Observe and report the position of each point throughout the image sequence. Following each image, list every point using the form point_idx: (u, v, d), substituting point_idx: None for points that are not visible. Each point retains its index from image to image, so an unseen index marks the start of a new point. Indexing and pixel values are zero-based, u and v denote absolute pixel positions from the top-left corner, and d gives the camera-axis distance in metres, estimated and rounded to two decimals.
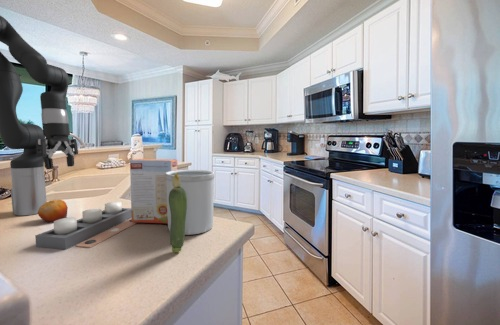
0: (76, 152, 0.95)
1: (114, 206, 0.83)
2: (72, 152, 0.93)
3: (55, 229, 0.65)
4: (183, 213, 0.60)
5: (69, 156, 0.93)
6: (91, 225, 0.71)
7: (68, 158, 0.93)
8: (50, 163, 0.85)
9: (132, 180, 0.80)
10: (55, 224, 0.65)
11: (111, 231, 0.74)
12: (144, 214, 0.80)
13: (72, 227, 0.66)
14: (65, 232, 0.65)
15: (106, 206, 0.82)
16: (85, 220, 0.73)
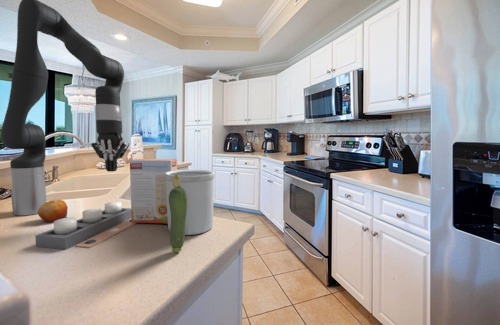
0: None
1: (114, 206, 0.83)
2: None
3: (55, 229, 0.65)
4: (183, 213, 0.60)
5: None
6: (91, 225, 0.71)
7: (109, 162, 0.83)
8: None
9: (132, 180, 0.80)
10: (55, 224, 0.65)
11: (111, 231, 0.74)
12: (144, 214, 0.80)
13: (72, 227, 0.66)
14: (65, 232, 0.65)
15: (106, 206, 0.82)
16: (85, 220, 0.73)
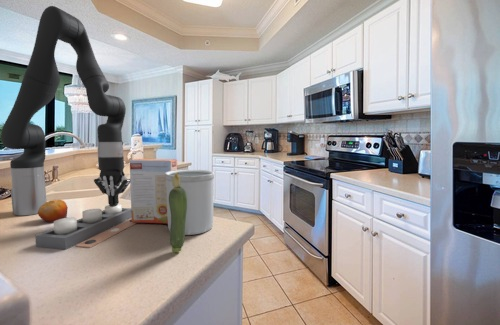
0: None
1: (114, 208, 0.83)
2: None
3: (55, 229, 0.65)
4: (183, 213, 0.60)
5: None
6: (91, 225, 0.71)
7: None
8: None
9: (132, 180, 0.80)
10: (55, 224, 0.65)
11: (111, 231, 0.74)
12: (144, 214, 0.80)
13: (72, 227, 0.66)
14: (65, 232, 0.65)
15: (106, 208, 0.82)
16: (85, 220, 0.73)
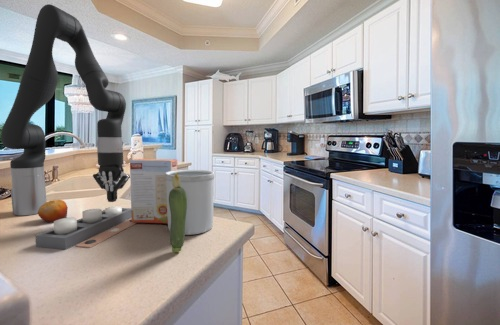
0: None
1: (114, 211, 0.83)
2: None
3: (55, 229, 0.65)
4: (183, 213, 0.60)
5: None
6: (91, 225, 0.71)
7: None
8: (115, 195, 0.85)
9: (132, 180, 0.80)
10: (55, 224, 0.65)
11: (111, 231, 0.74)
12: (144, 214, 0.80)
13: (72, 227, 0.66)
14: (65, 232, 0.65)
15: (106, 211, 0.82)
16: (85, 220, 0.73)
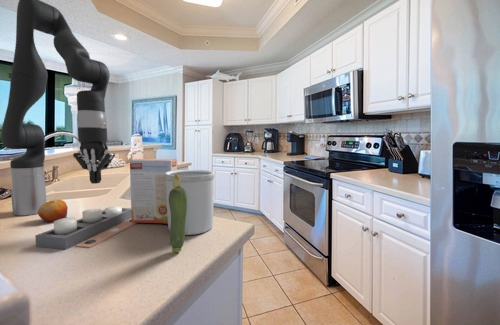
0: None
1: (114, 211, 0.83)
2: None
3: (55, 229, 0.65)
4: (183, 213, 0.60)
5: None
6: (91, 225, 0.71)
7: None
8: None
9: (132, 180, 0.80)
10: (55, 224, 0.65)
11: (111, 231, 0.74)
12: (144, 214, 0.80)
13: (72, 227, 0.66)
14: (65, 232, 0.65)
15: (106, 211, 0.82)
16: (85, 220, 0.73)
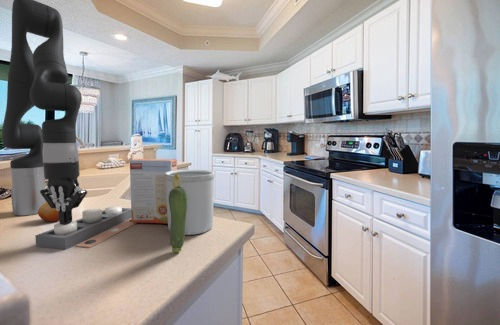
0: None
1: (114, 211, 0.83)
2: (66, 203, 0.68)
3: (55, 232, 0.65)
4: (183, 213, 0.60)
5: None
6: (91, 225, 0.71)
7: None
8: None
9: (132, 180, 0.80)
10: (55, 227, 0.65)
11: (111, 231, 0.74)
12: (144, 214, 0.80)
13: (72, 230, 0.66)
14: (65, 235, 0.65)
15: (106, 211, 0.82)
16: (85, 220, 0.73)
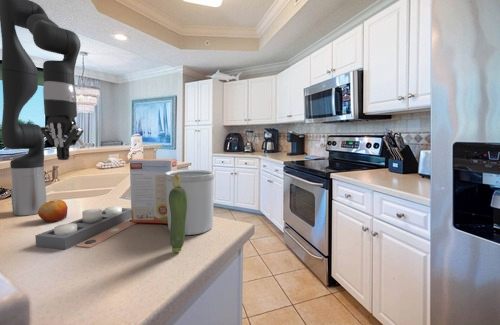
0: None
1: (114, 211, 0.83)
2: None
3: None
4: (183, 213, 0.60)
5: None
6: (91, 225, 0.71)
7: None
8: None
9: (132, 180, 0.80)
10: (55, 230, 0.65)
11: (111, 231, 0.74)
12: (144, 214, 0.80)
13: None
14: None
15: (106, 211, 0.82)
16: (85, 220, 0.73)
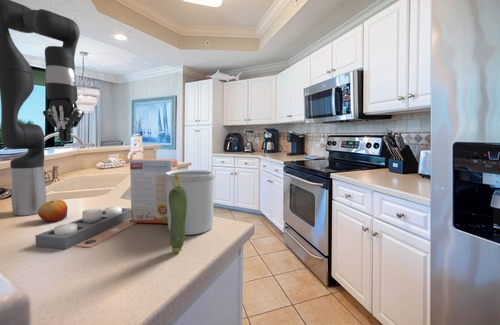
0: None
1: (114, 211, 0.83)
2: None
3: None
4: (183, 213, 0.60)
5: None
6: (91, 225, 0.71)
7: None
8: None
9: (132, 180, 0.80)
10: (55, 230, 0.65)
11: (111, 231, 0.74)
12: (144, 214, 0.80)
13: None
14: None
15: (106, 211, 0.82)
16: (85, 220, 0.73)
